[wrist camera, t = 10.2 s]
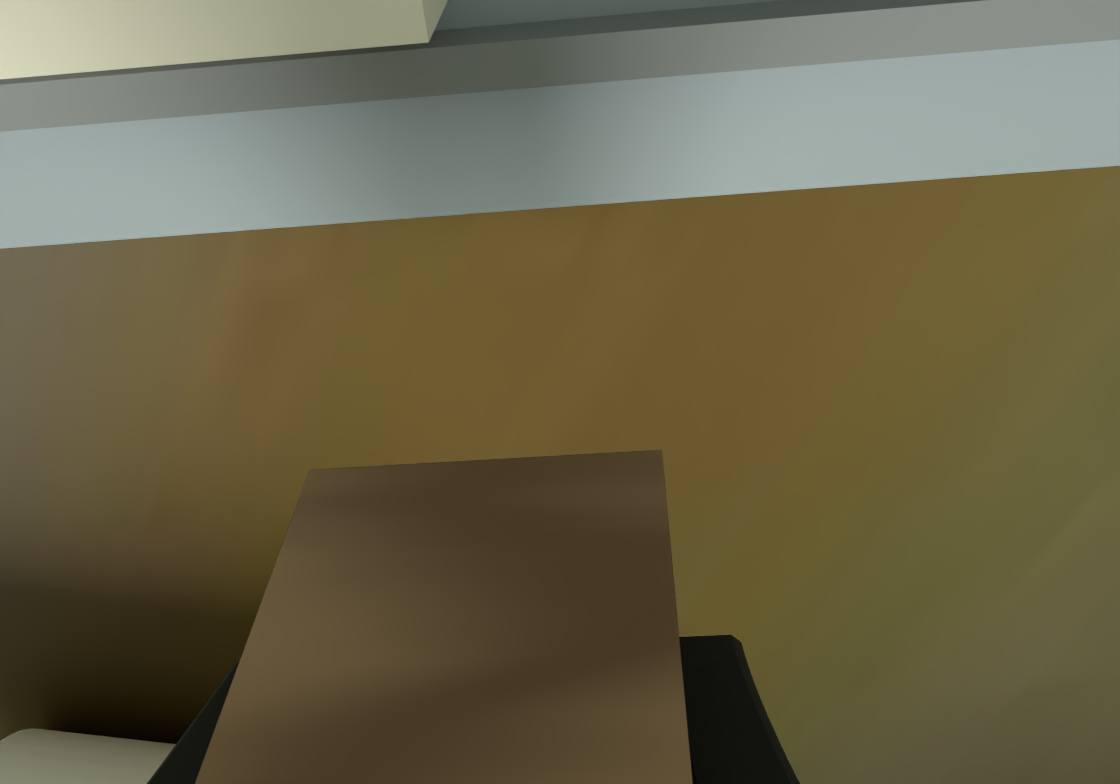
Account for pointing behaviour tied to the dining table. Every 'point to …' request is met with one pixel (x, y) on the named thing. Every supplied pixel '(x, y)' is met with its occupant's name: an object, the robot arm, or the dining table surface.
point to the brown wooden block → (466, 631)
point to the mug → (77, 758)
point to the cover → (196, 31)
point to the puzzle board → (564, 114)
